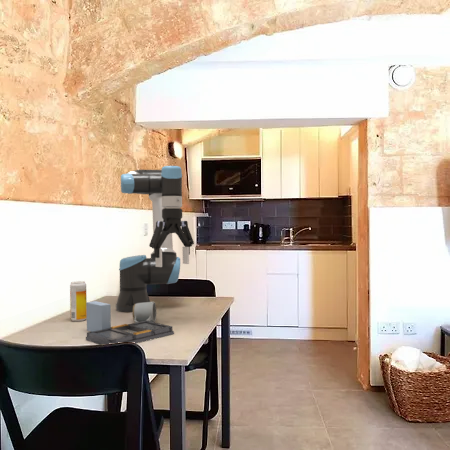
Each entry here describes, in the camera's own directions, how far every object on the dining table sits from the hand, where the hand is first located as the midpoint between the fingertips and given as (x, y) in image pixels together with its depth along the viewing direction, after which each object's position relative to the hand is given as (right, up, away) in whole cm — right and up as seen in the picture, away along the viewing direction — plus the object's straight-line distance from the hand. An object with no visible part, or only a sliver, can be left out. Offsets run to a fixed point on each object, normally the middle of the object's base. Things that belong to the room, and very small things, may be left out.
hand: (172, 265), depth 171 cm
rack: (-12, -22, -17) cm, 31 cm away
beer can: (-38, -23, +10) cm, 46 cm away
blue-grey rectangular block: (-25, -23, -9) cm, 35 cm away
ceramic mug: (-11, -23, +5) cm, 26 cm away
